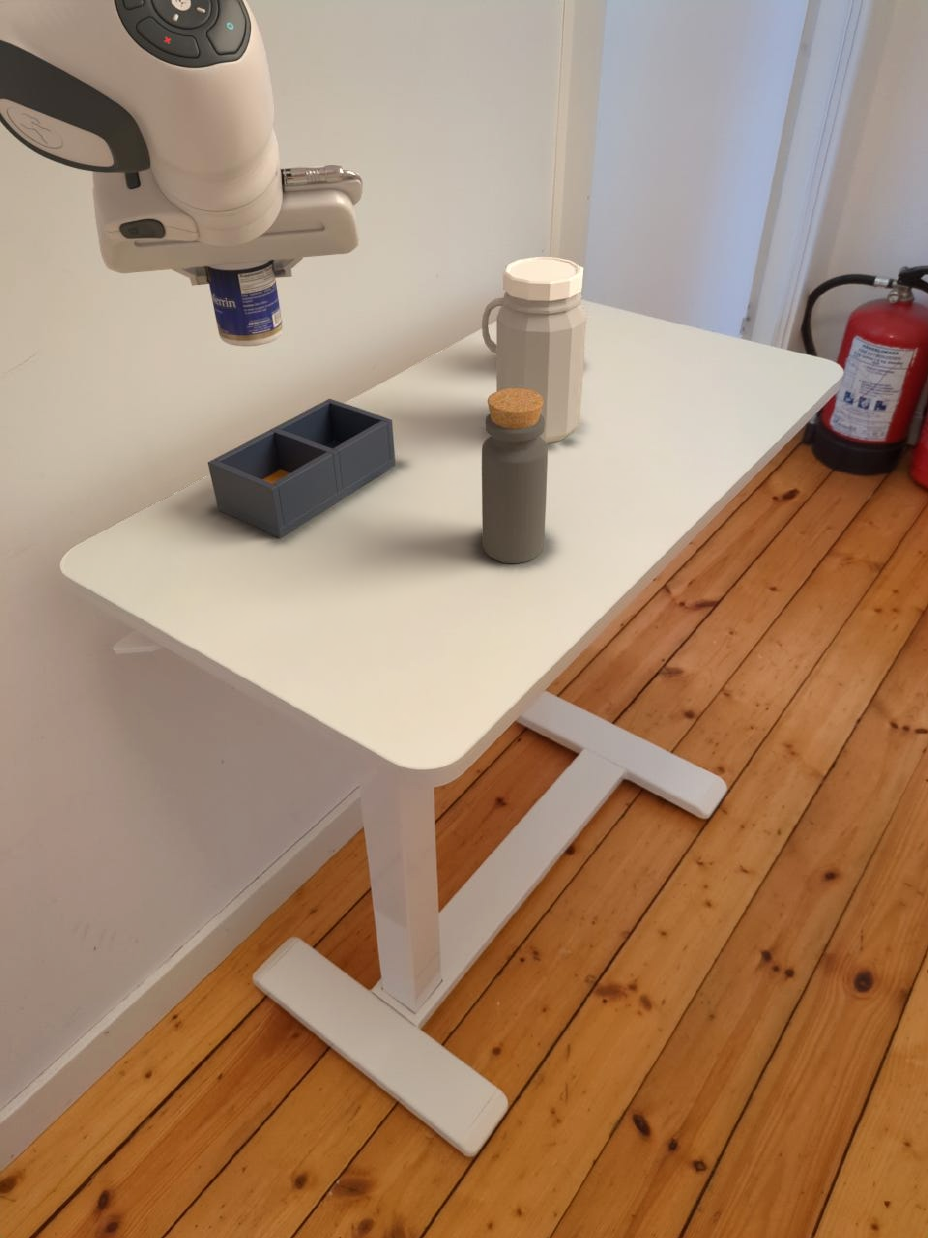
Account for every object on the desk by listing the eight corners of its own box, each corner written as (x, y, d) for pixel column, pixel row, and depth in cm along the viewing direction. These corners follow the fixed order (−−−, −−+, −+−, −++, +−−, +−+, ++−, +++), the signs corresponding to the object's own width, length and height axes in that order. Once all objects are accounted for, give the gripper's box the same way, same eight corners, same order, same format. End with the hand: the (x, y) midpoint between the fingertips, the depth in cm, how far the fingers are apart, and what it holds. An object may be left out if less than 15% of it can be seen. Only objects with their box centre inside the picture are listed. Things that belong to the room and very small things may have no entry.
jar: (532, 456, 99) (537, 291, 87) (479, 424, 105) (477, 266, 94) (598, 430, 103) (610, 270, 92) (543, 401, 109) (548, 248, 98)
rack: (280, 538, 87) (271, 489, 84) (217, 510, 91) (207, 462, 88) (395, 465, 98) (392, 419, 94) (334, 443, 102) (329, 398, 99)
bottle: (521, 571, 82) (524, 421, 72) (470, 550, 85) (467, 402, 75) (556, 542, 85) (563, 395, 76) (505, 522, 88) (507, 378, 79)
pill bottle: (208, 335, 81) (184, 219, 75) (263, 319, 84) (244, 206, 78) (239, 354, 78) (217, 233, 71) (296, 336, 81) (279, 219, 74)
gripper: (356, 126, 66) (353, 229, 80) (68, 145, 63) (116, 249, 77) (369, 206, 66) (364, 296, 79) (79, 229, 63) (126, 319, 76)
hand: (240, 273), depth 78 cm, fingers closed on pill bottle, 6 cm apart
